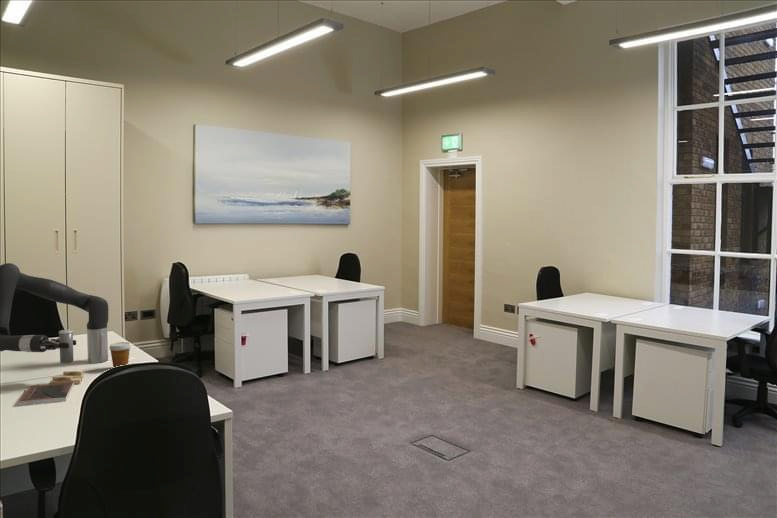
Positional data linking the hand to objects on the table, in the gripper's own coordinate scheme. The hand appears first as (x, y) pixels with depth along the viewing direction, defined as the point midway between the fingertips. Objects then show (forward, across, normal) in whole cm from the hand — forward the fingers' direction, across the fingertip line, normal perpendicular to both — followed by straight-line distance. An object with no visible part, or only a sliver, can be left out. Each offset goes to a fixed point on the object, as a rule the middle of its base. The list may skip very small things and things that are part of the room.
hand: (72, 344), depth 247 cm
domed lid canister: (-3, 0, +8) cm, 8 cm away
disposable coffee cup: (+11, +23, +17) cm, 31 cm away
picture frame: (-1, -18, +18) cm, 26 cm away
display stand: (-2, 0, +17) cm, 17 cm away
